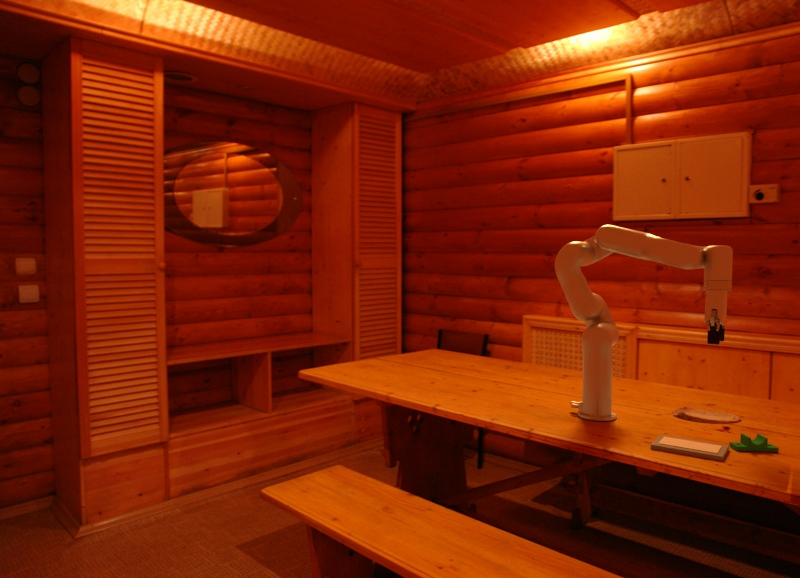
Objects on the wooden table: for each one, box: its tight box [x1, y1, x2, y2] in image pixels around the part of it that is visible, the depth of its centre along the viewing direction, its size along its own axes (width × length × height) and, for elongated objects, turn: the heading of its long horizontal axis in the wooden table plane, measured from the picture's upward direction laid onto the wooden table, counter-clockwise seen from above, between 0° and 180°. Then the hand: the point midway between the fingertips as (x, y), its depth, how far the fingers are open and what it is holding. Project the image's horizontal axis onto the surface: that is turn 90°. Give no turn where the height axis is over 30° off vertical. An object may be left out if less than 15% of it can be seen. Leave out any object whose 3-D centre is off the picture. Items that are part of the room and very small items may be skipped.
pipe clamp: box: [728, 433, 780, 453], centre depth 170 cm, size 11×4×5 cm
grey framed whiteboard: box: [650, 434, 730, 462], centre depth 170 cm, size 18×12×1 cm, turn 55°
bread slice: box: [671, 406, 742, 424], centre depth 202 cm, size 18×18×4 cm
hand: (715, 342), depth 184 cm, fingers open, 9 cm apart
